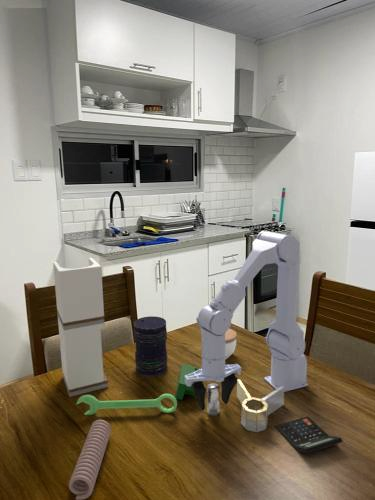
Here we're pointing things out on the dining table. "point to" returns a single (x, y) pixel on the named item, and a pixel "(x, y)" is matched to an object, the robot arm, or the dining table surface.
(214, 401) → the hinge pin
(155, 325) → the storage jar
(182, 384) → the clamp
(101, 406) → the wrench
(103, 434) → the coil
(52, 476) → the dining table surface
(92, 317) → the grey boxy piece
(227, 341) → the lidded jar
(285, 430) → the calculator
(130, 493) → the dining table surface
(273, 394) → the tan ring with arms
